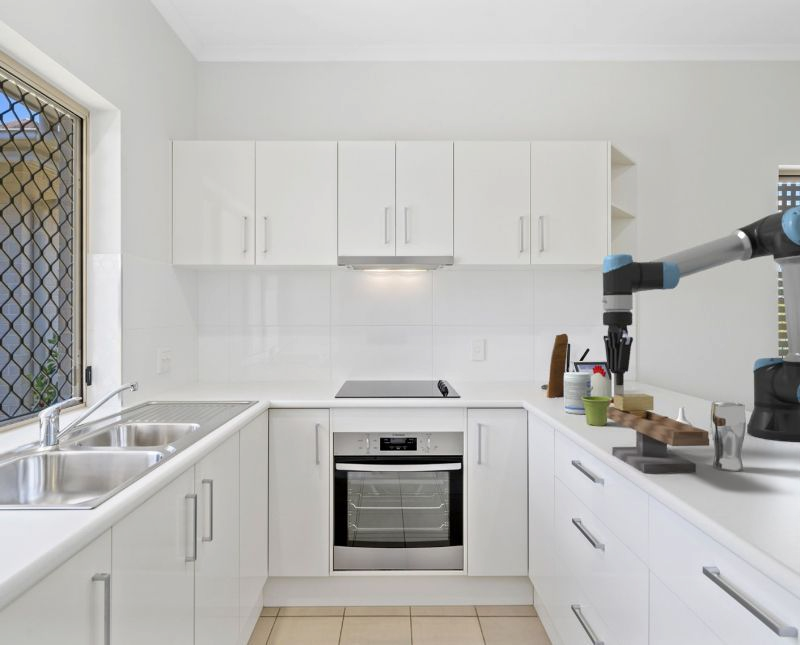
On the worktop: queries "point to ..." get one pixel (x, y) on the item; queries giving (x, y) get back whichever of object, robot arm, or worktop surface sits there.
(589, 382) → the supplement tub
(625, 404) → the brass rider
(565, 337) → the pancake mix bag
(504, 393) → the worktop surface
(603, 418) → the plant pot
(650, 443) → the balance beam
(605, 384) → the kitchen timer
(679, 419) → the garlic bulb
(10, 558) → the worktop surface
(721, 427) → the beer glass
